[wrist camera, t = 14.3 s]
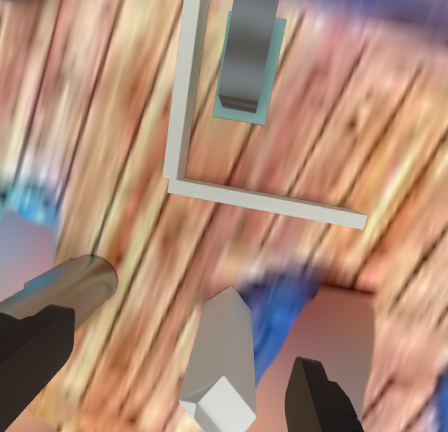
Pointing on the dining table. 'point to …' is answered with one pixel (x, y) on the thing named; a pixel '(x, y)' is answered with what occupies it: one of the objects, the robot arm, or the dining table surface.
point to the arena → (181, 131)
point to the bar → (246, 53)
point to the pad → (266, 84)
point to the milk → (222, 367)
